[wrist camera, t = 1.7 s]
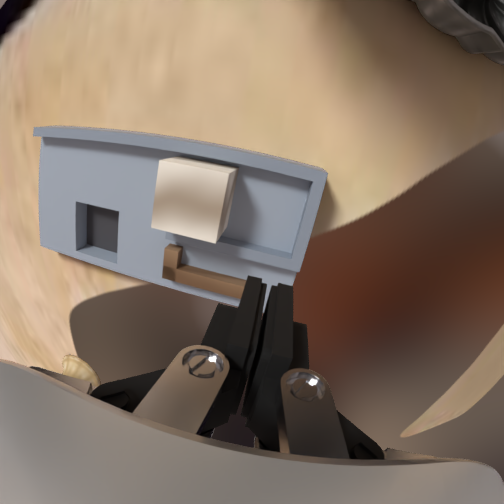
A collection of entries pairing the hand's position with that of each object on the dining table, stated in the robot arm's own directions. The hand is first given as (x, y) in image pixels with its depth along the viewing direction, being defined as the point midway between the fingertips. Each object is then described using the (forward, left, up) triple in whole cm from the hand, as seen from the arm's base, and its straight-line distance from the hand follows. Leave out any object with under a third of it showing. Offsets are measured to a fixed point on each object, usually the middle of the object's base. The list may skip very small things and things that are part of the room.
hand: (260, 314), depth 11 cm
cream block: (0, -7, -16) cm, 18 cm away
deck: (+3, -12, -19) cm, 23 cm away
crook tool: (+8, -5, -16) cm, 19 cm away
